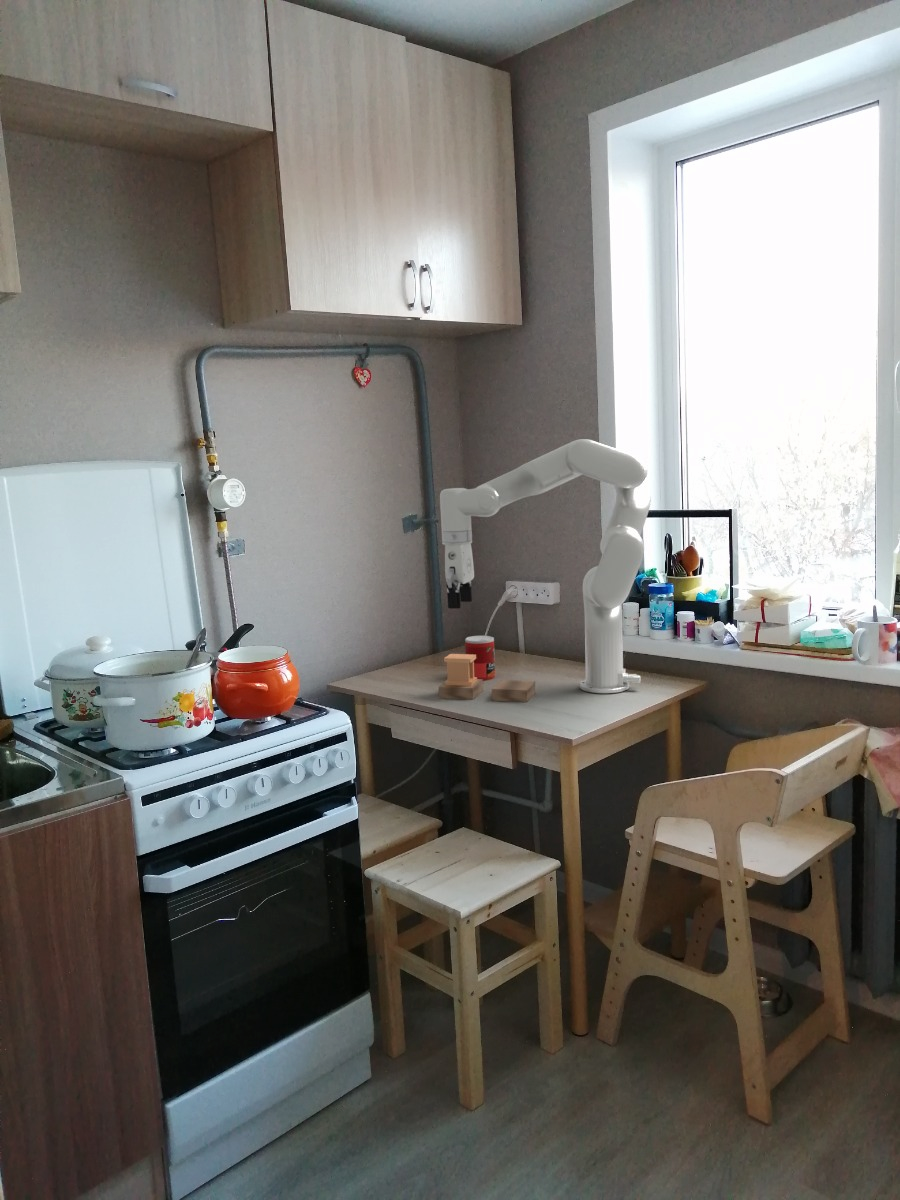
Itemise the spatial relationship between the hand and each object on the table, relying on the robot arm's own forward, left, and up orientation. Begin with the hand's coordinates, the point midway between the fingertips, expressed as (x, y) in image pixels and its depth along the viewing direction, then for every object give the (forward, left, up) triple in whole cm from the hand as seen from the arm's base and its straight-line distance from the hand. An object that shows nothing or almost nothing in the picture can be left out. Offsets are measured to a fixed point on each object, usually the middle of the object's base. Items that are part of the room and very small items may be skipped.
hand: (460, 604), depth 241 cm
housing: (+1, 0, -20) cm, 20 cm away
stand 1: (+1, +1, -23) cm, 23 cm away
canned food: (+1, -18, -24) cm, 29 cm away
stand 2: (-13, 0, -23) cm, 27 cm away
